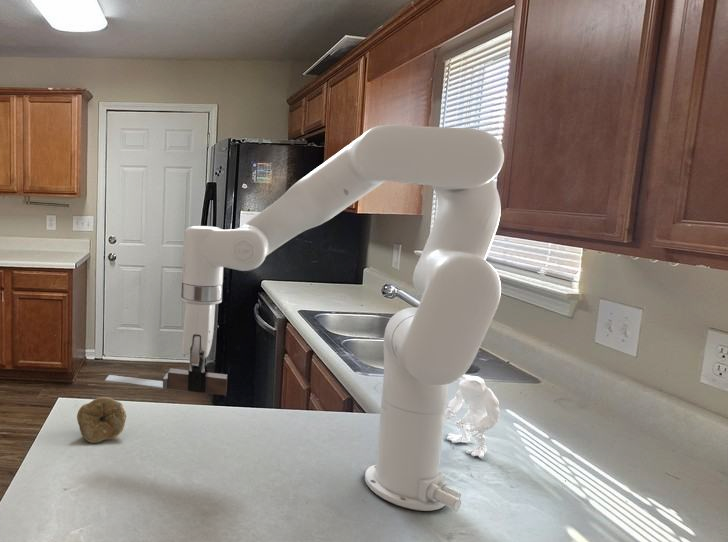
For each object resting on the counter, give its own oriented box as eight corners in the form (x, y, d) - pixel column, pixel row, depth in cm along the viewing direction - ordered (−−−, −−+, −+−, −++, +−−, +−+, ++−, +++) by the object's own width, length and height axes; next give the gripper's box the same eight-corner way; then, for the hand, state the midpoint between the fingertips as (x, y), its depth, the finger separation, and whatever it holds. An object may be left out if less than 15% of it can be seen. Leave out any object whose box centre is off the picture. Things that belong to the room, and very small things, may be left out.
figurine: (505, 461, 96) (513, 387, 95) (473, 462, 95) (482, 387, 94) (463, 434, 107) (470, 367, 105) (434, 435, 106) (441, 367, 105)
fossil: (71, 405, 101) (117, 389, 105) (71, 414, 104) (114, 398, 108) (86, 447, 96) (133, 429, 100) (85, 455, 99) (131, 436, 103)
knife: (226, 390, 94) (227, 373, 94) (225, 396, 91) (226, 379, 91) (109, 376, 99) (109, 360, 99) (104, 381, 96) (104, 365, 96)
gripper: (187, 284, 101) (183, 371, 103) (174, 299, 85) (170, 402, 87) (225, 286, 99) (220, 376, 101) (218, 303, 83) (213, 408, 85)
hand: (197, 387), depth 94 cm, fingers closed on knife, 2 cm apart
